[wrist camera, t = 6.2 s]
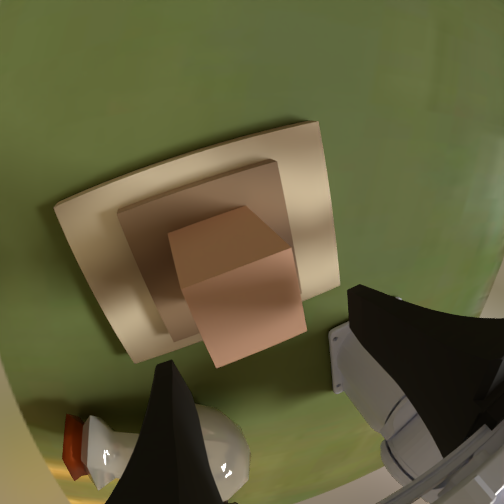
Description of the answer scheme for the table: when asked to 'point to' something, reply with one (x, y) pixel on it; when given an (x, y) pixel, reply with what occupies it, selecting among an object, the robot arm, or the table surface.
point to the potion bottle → (122, 444)
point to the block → (238, 284)
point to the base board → (190, 212)
